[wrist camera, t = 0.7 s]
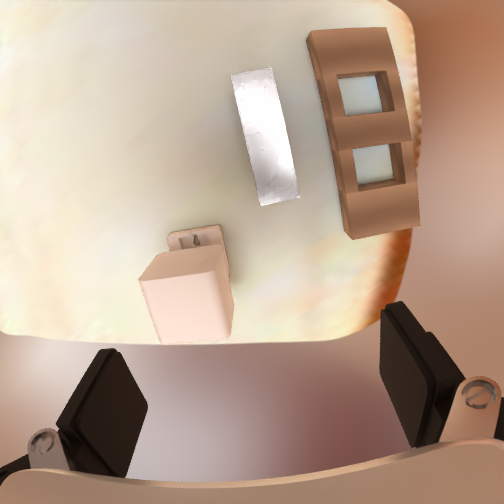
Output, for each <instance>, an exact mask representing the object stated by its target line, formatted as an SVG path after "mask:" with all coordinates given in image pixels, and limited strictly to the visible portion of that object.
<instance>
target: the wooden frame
mask: <svg viewBox="0 0 504 504" xmlns="http://www.w3.org/2000/svg"><path fill="white" fill-rule="evenodd" d="M306 42H307V46H308V49H309V53H310V57H311V61H312V65H313V68H314V72H315V76H316V81H317V85H318V89H319V93H320V98H321V102H322V107H323V111H324V116H325V120H326V125H327V130H328V135H329V140H330V145H331V151H332V156H333V161H334V167H335V173H336V179H337V185H338V191H339V197H340V204H341V210H342V217H343V225H344V231H345V232H346V233H347V235H348V236H349V237H350V238H351V239H352V240H355V239H360V238H365V237H369V236H374V235H379V234H384V233H388V232H393V231H398V230H403V229H407V228H412V227H417V226H420V215H419V200H418V188H417V178H416V169H415V161H414V153H413V146H412V139H411V133H410V127H409V121H408V115H407V110H406V105H405V100H404V95H403V90H402V86H401V81H400V77H399V73H398V69H397V65H396V61H395V57H394V53H393V49H392V46H391V42H390V39H389V35H388V32H387V29H386V27H371V28H344V29H330V30H318V31H311V32H310V34H309V36H308V38H307V39H306ZM374 75H375V76H376V81H377V85H378V89H379V94H380V99H381V103H382V108H383V112H381V113H371V114H362V115H354V116H346V115H345V111H344V106H343V101H342V97H341V92H340V88H339V84H338V80H337V79H340V78H350V77H361V76H374ZM384 144H389V148H390V154H391V161H392V168H393V176H394V179H392V180H386V181H380V182H374V183H368V184H362V185H358V183H357V176H356V170H355V164H354V158H353V152H352V149H355V148H362V147H369V146H376V145H384Z"/></svg>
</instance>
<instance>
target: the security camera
mask: <svg viewBox="0 0 504 504" xmlns="http://www.w3.org/2000/svg"><path fill="white" fill-rule="evenodd" d="M194 235H197V237H198V240H199V241H200V245H195V244H194V240H195V238H194ZM167 242H168V246H169V250H170V252H165V253H161V254H159V255H157V256H156V257H155V258H154V259H153V261H152V262H151V263H150V265H149V266H148V267H147V269H146V270H145V271H144V272H143V274H142V275H141V276H140V278H139V282H140V286H141V289H142V292H143V295H144V298H145V301H146V304H147V307H148V310H149V313H150V316H151V319H152V321H153V324H154V327H155V330H156V333H157V335H158V338H159V341H160V343H161V344H163V345H171V344H183V343H194V342H205V341H215V340H223V339H226V338H227V337H229V336H230V334H231V327H232V319H233V311H234V302H233V297H232V293H231V288H230V283H229V279H228V278H229V273H230V270H229V265H228V260H227V255H226V250H225V245H224V240H223V235H222V230H221V226H220V225H213V226H207V227H201V228H195V229H190V230H184V231H178V232H172V233H170V234H169V236H168V237H167Z"/></svg>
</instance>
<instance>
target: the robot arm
mask: <svg viewBox="0 0 504 504" xmlns="http://www.w3.org/2000/svg"><path fill="white" fill-rule="evenodd" d="M380 334H381V335H380V337H381V338H380V367H379V368H380V375H381V378H382V381H383V383H384V385H385V387H386V390H387V392H388V394H389V397H390V399H391V401H392V403H393V406H394V408H395V410H396V413H397V415H398V417H399V420H400V422H401V425H402V427H403V429H404V432H405V434H406V437H407V439H408V442H409V444H410V446H411V447H412V448H414V447H416V449H413V450H409V451H405V452H401V453H398V454H394V455H391V456H387V457H383V458H380V459H376V460H372V461H368V462H363V463H359V464H354V465H350V466H345V467H341V468H336V469H331V470H326V471H320V472H314V473H308V474H302V475H295V476H287V477H279V478H270V479H259V480H247V481H229V482H168V481H150V480H138V479H128V478H125V477H126V475H127V472H128V469H129V465H130V462H131V459H132V456H133V453H134V450H135V447H136V443H137V440H138V437H139V434H140V431H141V428H142V425H143V422H144V419H145V416H146V413H147V410H148V404H147V401H146V400H145V398H144V396H143V394H142V393H141V391H140V389H139V387H138V385H137V383H136V381H135V380H134V378H133V376H132V374H131V372H130V370H129V368H128V366H127V364H126V362H125V360H124V358H123V356H122V354H121V353H120V352H117V350H116V349H113V348H110V349H101V350H99V352H98V353H97V355H96V356H95V358H94V359H93V361H92V363H91V364H90V366H89V367H88V369H87V371H86V372H85V374H84V376H83V377H82V379H81V381H80V383H79V384H78V386H77V387H76V389H75V391H74V392H73V394H72V396H71V398H70V399H69V401H68V403H67V404H66V406H65V408H64V410H63V411H62V414H61V415H60V417H59V418H58V420H57V422H56V425H57V427H58V428H59V430H58V432H57V431H55V430H54V429H51V428H48V429H47V428H46V429H42V430H40V431H38V432H36V433H35V434H34V435H33V436H32V437H31V439H30V440H29V443H28V449H27V450H28V454H27V455H25V456H23V457H21V458H19V459H17V460H15V461H13V462H11V463H9V464H7V465H5V466H3V467H1V468H0V504H504V398H503V397H501V390H500V387H499V385H498V384H497V383H496V382H495V381H493V380H492V379H490V378H487V377H483V376H475V377H470V378H468V379H466V378H465V377H464V375H463V374H462V372H461V371H460V370H459V368H458V367H457V365H456V364H455V363H454V362H453V360H452V359H451V357H450V356H449V354H448V353H447V352H446V350H445V349H444V348H443V346H442V345H441V344H440V343H439V341H438V340H437V338H436V337H435V336H434V334H433V333H431V332H426V331H425V330H424V329H423V327H422V326H421V325H420V324H419V322H418V321H417V320H416V318H415V317H414V316H413V314H412V313H411V312H410V310H409V309H408V308H407V306H406V305H405V304H404V303H403V302H402V301H399V302H395V303H390V304H387V305H386V306H385V309H384V310H381V329H380Z"/></svg>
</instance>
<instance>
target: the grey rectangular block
mask: <svg viewBox="0 0 504 504" xmlns="http://www.w3.org/2000/svg"><path fill="white" fill-rule="evenodd" d="M230 77H231V81H232V85H233V89H234V93H235V98H236V102H237V106H238V110H239V114H240V119H241V123H242V127H243V132H244V136H245V140H246V145H247V149H248V153H249V158H250V162H251V167H252V171H253V175H254V180H255V184H256V189H257V193H258V198H259V202H260V206H264V205H268V204H273V203H278V202H283V201H288V200H293V199H298V198H300V195H299V189H298V184H297V179H296V174H295V169H294V164H293V159H292V155H291V150H290V145H289V140H288V136H287V131H286V127H285V122H284V118H283V113H282V109H281V104H280V100H279V96H278V92H277V87H276V83H275V79H274V75H273V71H272V67H268V68H262V69H257V70H252V71H247V72H242V73H238V74H233V75H230Z"/></svg>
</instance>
